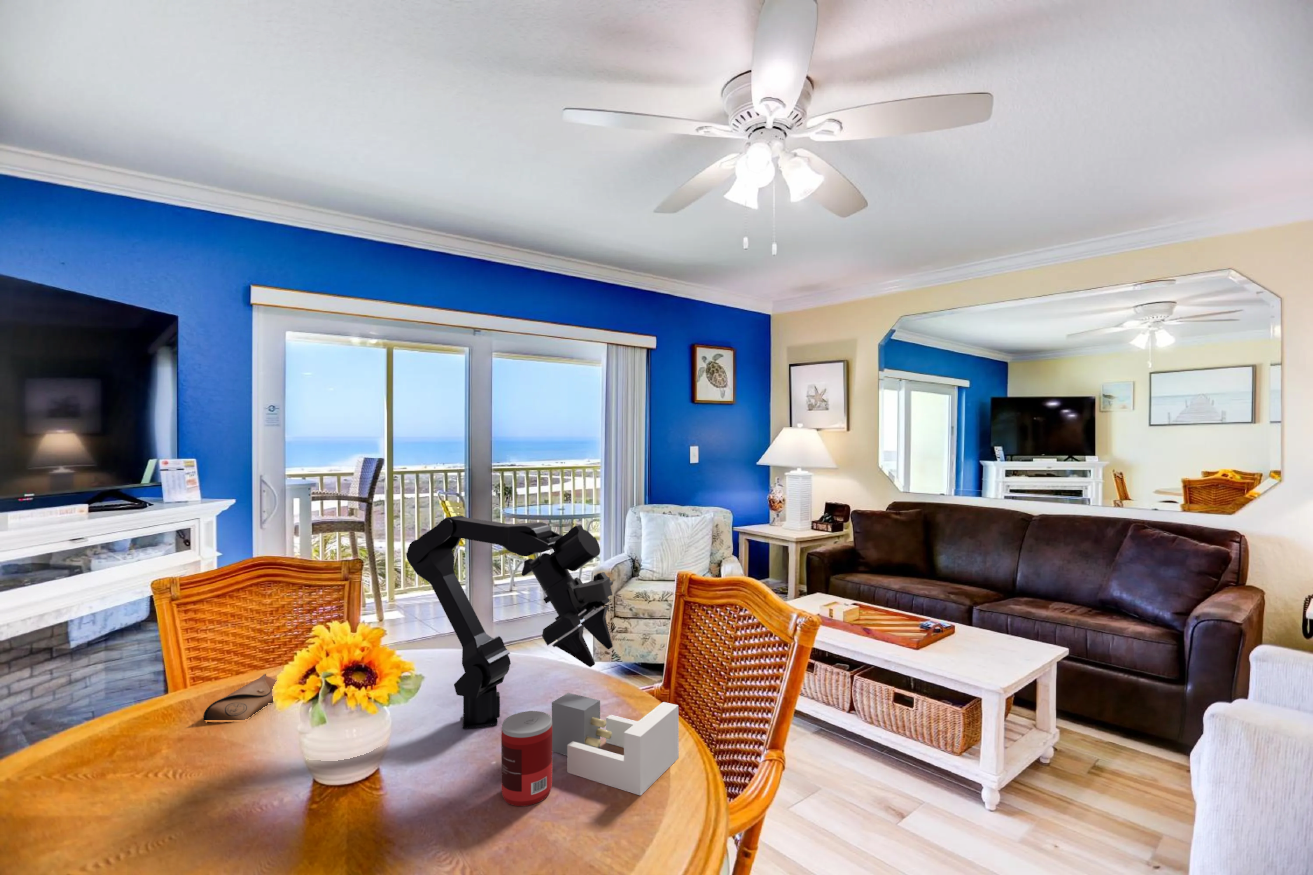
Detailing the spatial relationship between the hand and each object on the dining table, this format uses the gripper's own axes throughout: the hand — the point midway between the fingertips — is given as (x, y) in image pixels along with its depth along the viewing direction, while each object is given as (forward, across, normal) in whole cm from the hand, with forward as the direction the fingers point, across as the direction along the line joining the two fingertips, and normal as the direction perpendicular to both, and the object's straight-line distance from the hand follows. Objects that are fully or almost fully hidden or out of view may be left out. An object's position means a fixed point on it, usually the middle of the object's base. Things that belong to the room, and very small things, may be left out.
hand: (602, 656), depth 111 cm
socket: (+16, -7, +3) cm, 18 cm away
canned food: (+10, -19, +13) cm, 25 cm away
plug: (+11, -5, +10) cm, 16 cm away
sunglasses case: (-29, -4, +72) cm, 78 cm away
